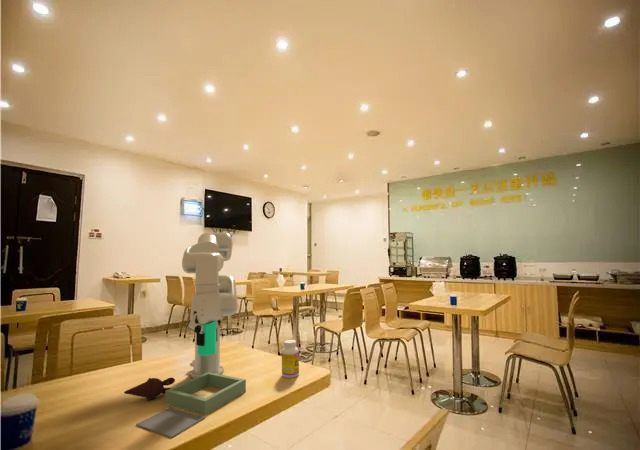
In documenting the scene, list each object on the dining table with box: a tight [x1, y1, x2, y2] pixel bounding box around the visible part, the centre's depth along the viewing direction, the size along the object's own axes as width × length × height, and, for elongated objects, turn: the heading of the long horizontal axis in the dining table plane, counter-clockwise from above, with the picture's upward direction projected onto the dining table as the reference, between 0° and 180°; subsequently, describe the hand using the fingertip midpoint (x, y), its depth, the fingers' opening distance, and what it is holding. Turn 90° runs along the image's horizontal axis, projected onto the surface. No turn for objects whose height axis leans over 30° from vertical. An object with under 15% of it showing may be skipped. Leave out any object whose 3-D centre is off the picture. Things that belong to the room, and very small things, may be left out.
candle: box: [198, 321, 216, 356], centre depth 110 cm, size 6×6×12 cm
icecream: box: [123, 377, 176, 402], centre depth 108 cm, size 7×7×15 cm
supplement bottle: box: [281, 339, 300, 379], centre depth 126 cm, size 7×7×13 cm
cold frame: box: [164, 372, 247, 416], centre depth 108 cm, size 18×18×4 cm
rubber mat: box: [135, 406, 206, 439], centre depth 93 cm, size 15×11×1 cm
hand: (207, 342), depth 110 cm, fingers closed on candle, 4 cm apart
